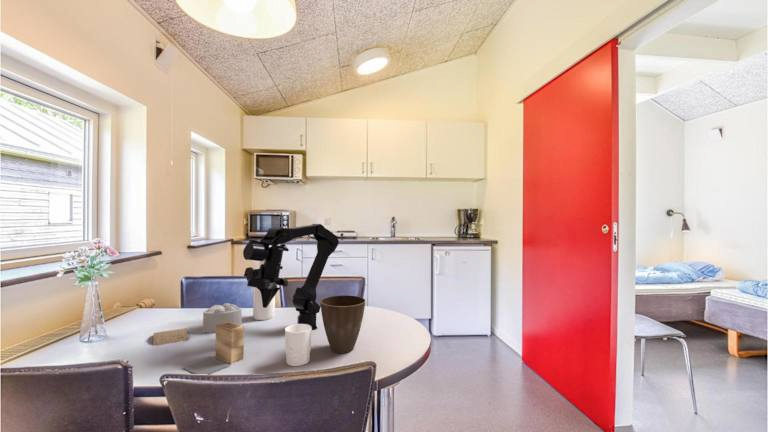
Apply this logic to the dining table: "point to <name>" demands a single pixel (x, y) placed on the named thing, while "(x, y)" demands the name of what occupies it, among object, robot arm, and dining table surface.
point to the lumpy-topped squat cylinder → (221, 316)
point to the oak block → (230, 342)
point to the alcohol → (258, 309)
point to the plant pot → (342, 321)
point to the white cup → (298, 344)
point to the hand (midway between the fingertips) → (264, 307)
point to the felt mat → (206, 366)
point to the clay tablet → (170, 336)
